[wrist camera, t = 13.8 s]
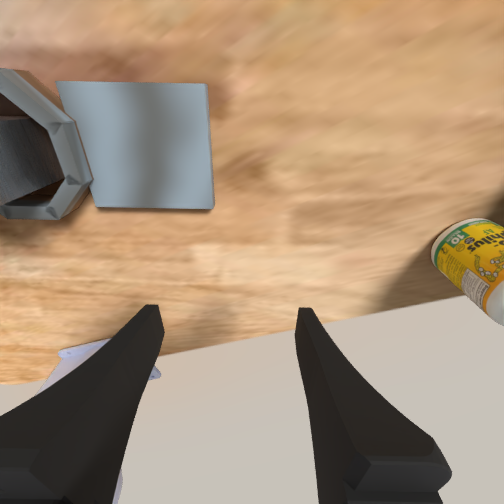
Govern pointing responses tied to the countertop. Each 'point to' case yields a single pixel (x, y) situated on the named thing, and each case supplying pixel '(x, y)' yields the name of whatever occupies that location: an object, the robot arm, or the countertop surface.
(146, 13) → the countertop surface
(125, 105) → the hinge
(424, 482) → the robot arm
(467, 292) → the supplement bottle
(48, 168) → the grey metal brick
